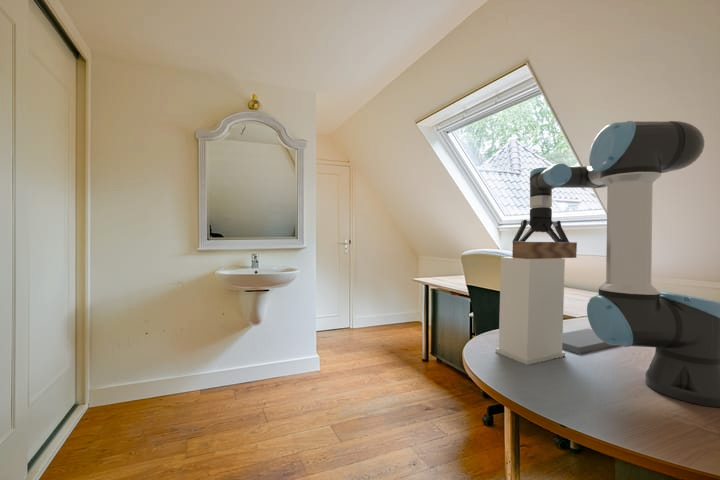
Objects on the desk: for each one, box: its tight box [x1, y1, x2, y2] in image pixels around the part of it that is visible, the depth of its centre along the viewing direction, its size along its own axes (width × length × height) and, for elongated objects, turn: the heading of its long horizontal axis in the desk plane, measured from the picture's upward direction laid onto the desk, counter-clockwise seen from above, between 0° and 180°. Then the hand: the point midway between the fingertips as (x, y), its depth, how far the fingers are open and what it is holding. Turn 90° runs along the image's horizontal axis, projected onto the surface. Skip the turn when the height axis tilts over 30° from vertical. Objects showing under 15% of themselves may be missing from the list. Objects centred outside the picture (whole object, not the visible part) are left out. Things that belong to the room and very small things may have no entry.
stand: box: [495, 256, 566, 366], centre depth 104 cm, size 17×11×30 cm, turn 116°
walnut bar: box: [511, 240, 578, 259], centre depth 106 cm, size 24×5×5 cm, turn 116°
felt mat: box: [562, 328, 616, 355], centre depth 116 cm, size 26×12×2 cm, turn 116°
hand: (540, 263), depth 128 cm, fingers open, 13 cm apart
